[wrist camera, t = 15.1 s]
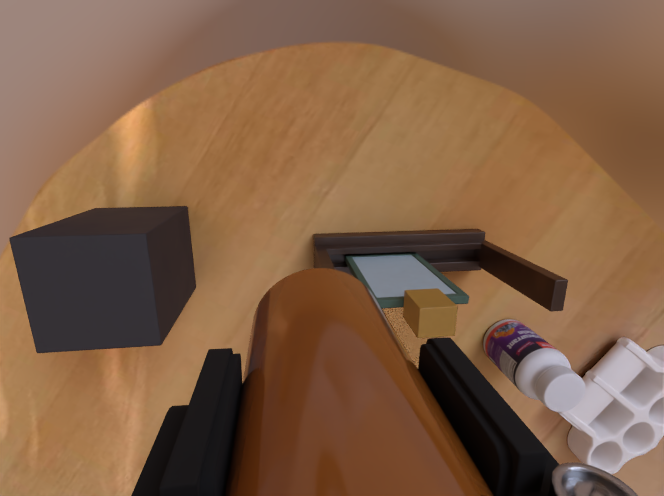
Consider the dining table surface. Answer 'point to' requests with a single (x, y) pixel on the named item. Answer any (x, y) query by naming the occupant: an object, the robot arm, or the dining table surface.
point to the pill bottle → (533, 365)
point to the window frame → (447, 258)
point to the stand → (106, 277)
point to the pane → (411, 290)
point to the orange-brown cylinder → (339, 402)
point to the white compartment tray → (619, 407)
